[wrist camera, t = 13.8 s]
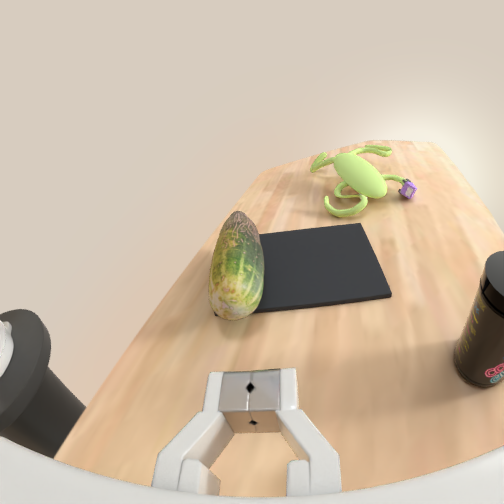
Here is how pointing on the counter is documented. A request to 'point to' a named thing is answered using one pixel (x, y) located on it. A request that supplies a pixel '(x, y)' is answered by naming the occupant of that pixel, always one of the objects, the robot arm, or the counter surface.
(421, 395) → the counter surface
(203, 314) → the counter surface
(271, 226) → the counter surface
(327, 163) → the figurine
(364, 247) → the mat
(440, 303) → the counter surface
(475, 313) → the supplement container
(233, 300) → the vegetable
